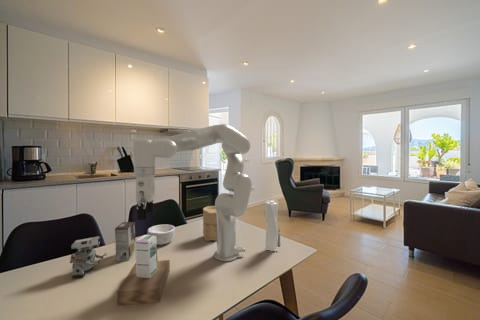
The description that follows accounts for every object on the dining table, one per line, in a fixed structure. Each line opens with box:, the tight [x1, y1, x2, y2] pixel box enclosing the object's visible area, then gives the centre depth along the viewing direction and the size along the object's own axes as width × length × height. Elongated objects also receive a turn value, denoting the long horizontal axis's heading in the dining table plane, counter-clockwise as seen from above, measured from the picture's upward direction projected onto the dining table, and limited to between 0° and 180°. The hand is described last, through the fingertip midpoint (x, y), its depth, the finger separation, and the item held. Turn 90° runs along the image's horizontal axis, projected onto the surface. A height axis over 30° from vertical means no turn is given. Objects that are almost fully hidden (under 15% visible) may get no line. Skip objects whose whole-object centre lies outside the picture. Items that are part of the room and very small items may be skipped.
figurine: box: [69, 235, 108, 279], centre depth 97 cm, size 9×12×15 cm
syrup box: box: [135, 234, 158, 278], centre depth 87 cm, size 6×6×14 cm
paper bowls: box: [147, 224, 176, 246], centre depth 130 cm, size 15×15×8 cm
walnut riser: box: [116, 259, 171, 306], centre depth 88 cm, size 14×20×5 cm
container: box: [202, 205, 217, 242], centre depth 136 cm, size 13×13×18 cm
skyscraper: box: [264, 199, 282, 252], centre depth 120 cm, size 8×8×28 cm
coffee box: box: [114, 221, 137, 262], centre depth 112 cm, size 9×6×16 cm
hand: (145, 215), depth 86 cm, fingers open, 9 cm apart
